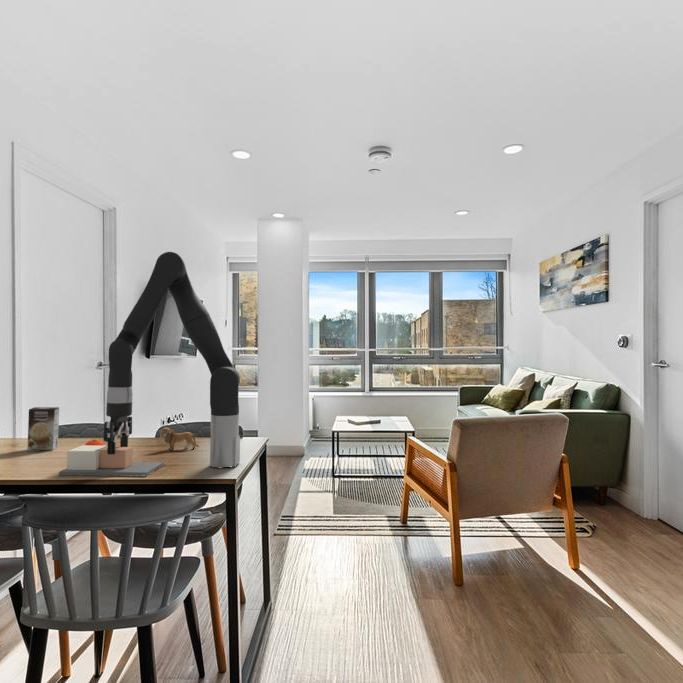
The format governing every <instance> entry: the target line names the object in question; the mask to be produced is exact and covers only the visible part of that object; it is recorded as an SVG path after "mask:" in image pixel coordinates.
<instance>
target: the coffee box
mask: <svg viewBox="0 0 683 683" xmlns="http://www.w3.org/2000/svg"><path fill="white" fill-rule="evenodd" d="M59 421H60V407H59V406H58V407H57V406H55V407H49V406H48V407H47V406H44V407H43V406H42V407H40V406H39V407H37V406H36V407H32V408H29V409H28V422H27V423H28V426H27V428H28V429H27V448H26V450H27V452H40V451H39V450H53V451H55V450H56V449H57V448H59V427H60V426H59V424H60V422H59ZM54 449H55V450H54Z"/></svg>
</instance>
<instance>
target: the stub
mask: <svg viewBox="0 0 683 683" xmlns="http://www.w3.org/2000/svg"><path fill="white" fill-rule="evenodd" d="M132 462H133V446H128V447H120V446H116V447H115V454H113V455H112V454H107V448H104V449H101V450H100V468H126V467H128V466H130V465H132Z"/></svg>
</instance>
